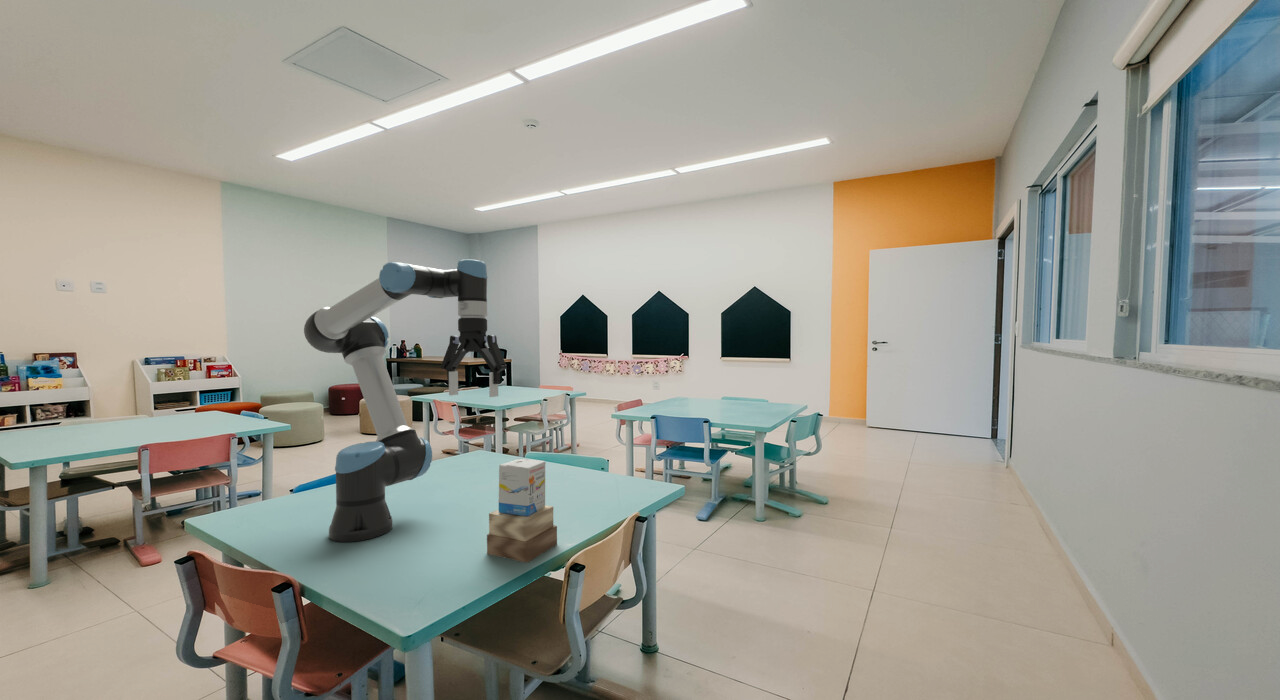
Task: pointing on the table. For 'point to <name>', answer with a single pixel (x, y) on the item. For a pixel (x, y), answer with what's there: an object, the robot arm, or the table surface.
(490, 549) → the tower base
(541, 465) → the ink box
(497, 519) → the tower top
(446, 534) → the table surface
